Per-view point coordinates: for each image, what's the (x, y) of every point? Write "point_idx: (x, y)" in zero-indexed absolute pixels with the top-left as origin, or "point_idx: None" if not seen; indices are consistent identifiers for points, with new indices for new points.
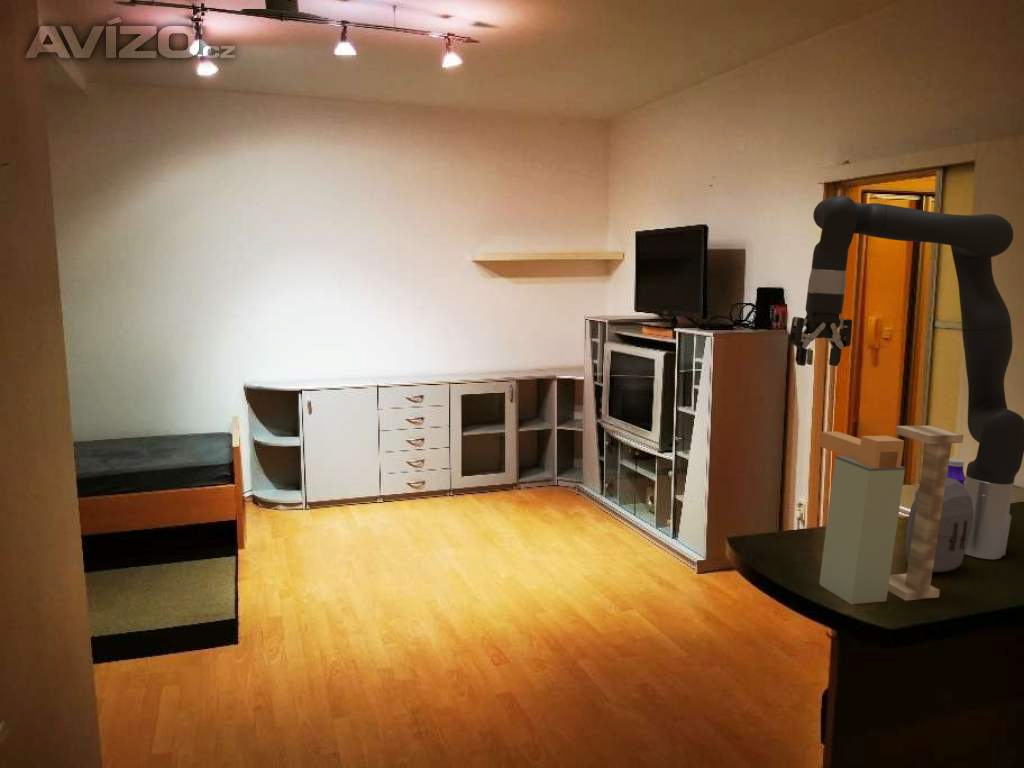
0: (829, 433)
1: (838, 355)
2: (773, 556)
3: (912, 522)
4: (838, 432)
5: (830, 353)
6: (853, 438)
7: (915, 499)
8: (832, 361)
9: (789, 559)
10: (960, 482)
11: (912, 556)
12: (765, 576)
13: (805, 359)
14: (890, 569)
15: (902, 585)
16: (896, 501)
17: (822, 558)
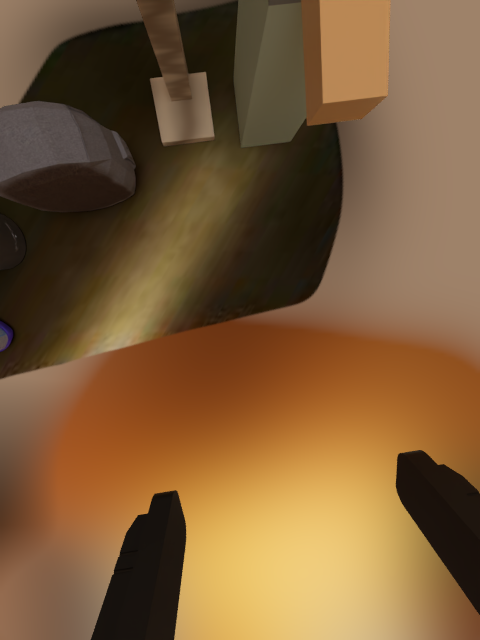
0: (376, 65)
1: (141, 570)
2: (295, 237)
3: (121, 161)
4: (331, 86)
5: (174, 626)
6: None
7: (99, 158)
8: (177, 535)
9: (281, 226)
10: None
11: (185, 64)
12: (341, 173)
13: (436, 481)
14: (235, 49)
15: (195, 100)
16: None
17: (299, 127)
